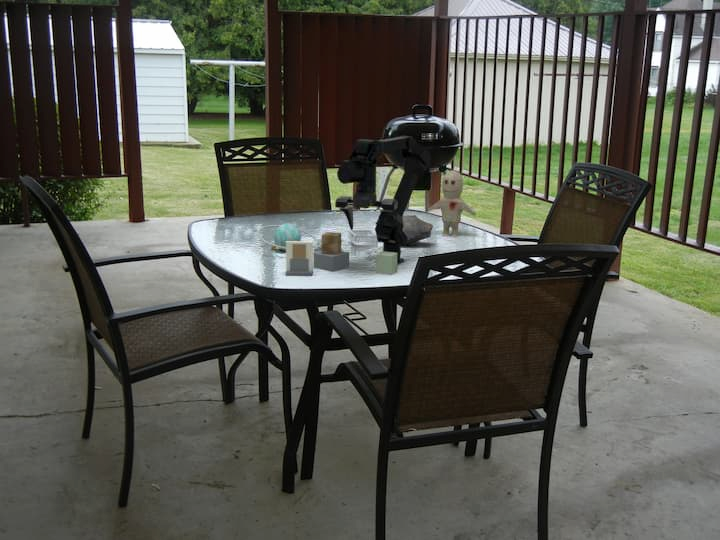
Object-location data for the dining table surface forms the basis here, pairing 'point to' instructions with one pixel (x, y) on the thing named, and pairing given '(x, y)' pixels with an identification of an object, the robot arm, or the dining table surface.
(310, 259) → the plaque
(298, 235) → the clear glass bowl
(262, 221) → the dining table surface
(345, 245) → the dining table surface
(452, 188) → the toy
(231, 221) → the dining table surface
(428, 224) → the stone
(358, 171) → the robot arm
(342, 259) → the slate base
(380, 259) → the sage block
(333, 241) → the walnut block
